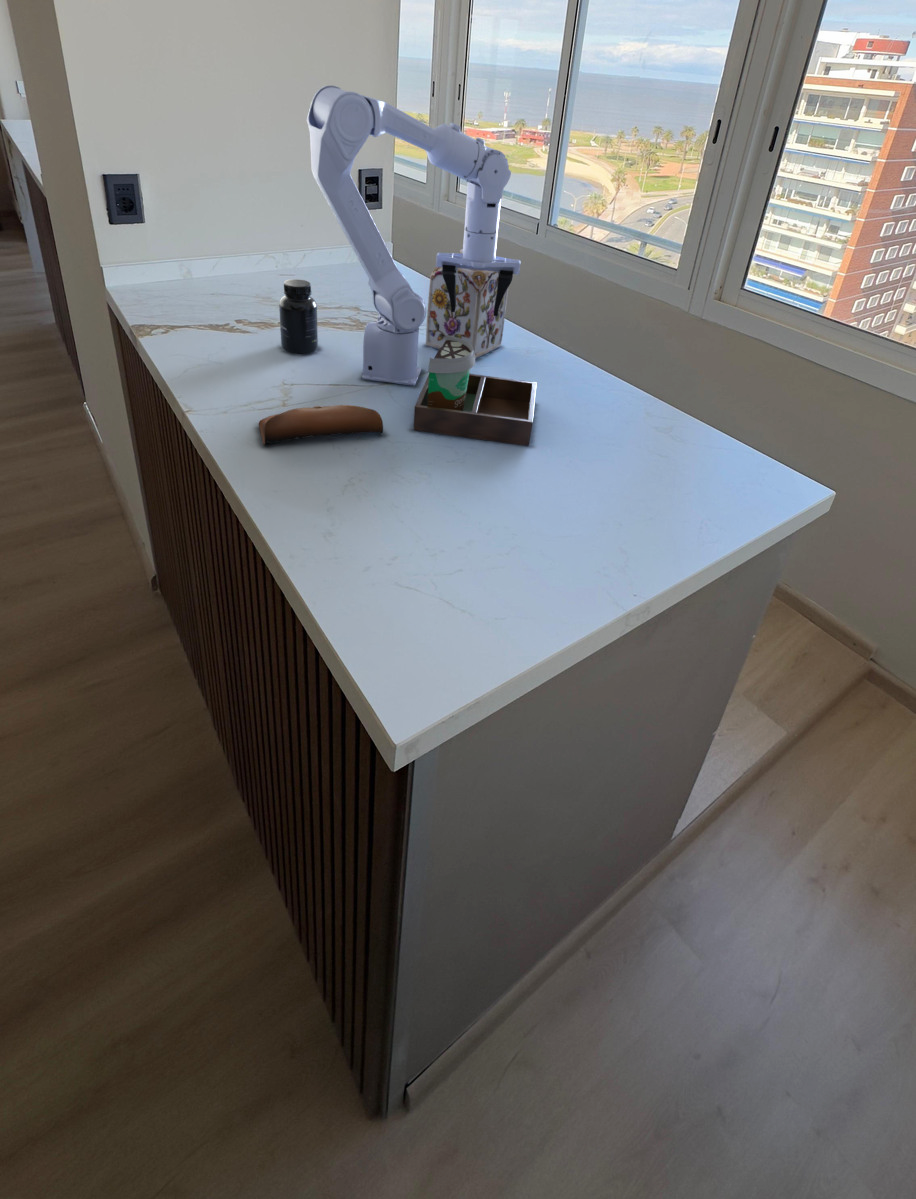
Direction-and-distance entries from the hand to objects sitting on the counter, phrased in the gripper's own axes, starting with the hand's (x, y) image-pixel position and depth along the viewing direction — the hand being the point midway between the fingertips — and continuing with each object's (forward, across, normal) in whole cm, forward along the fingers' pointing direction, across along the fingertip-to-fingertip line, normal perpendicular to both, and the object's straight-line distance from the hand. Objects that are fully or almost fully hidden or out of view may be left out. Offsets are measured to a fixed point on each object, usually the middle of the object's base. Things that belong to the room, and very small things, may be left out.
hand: (474, 312), depth 131 cm
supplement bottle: (+10, -32, +1) cm, 34 cm away
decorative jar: (+11, -2, +12) cm, 16 cm away
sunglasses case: (+10, -22, -33) cm, 41 cm away
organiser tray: (+10, +2, -22) cm, 24 cm away
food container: (+10, -2, -21) cm, 23 cm away
